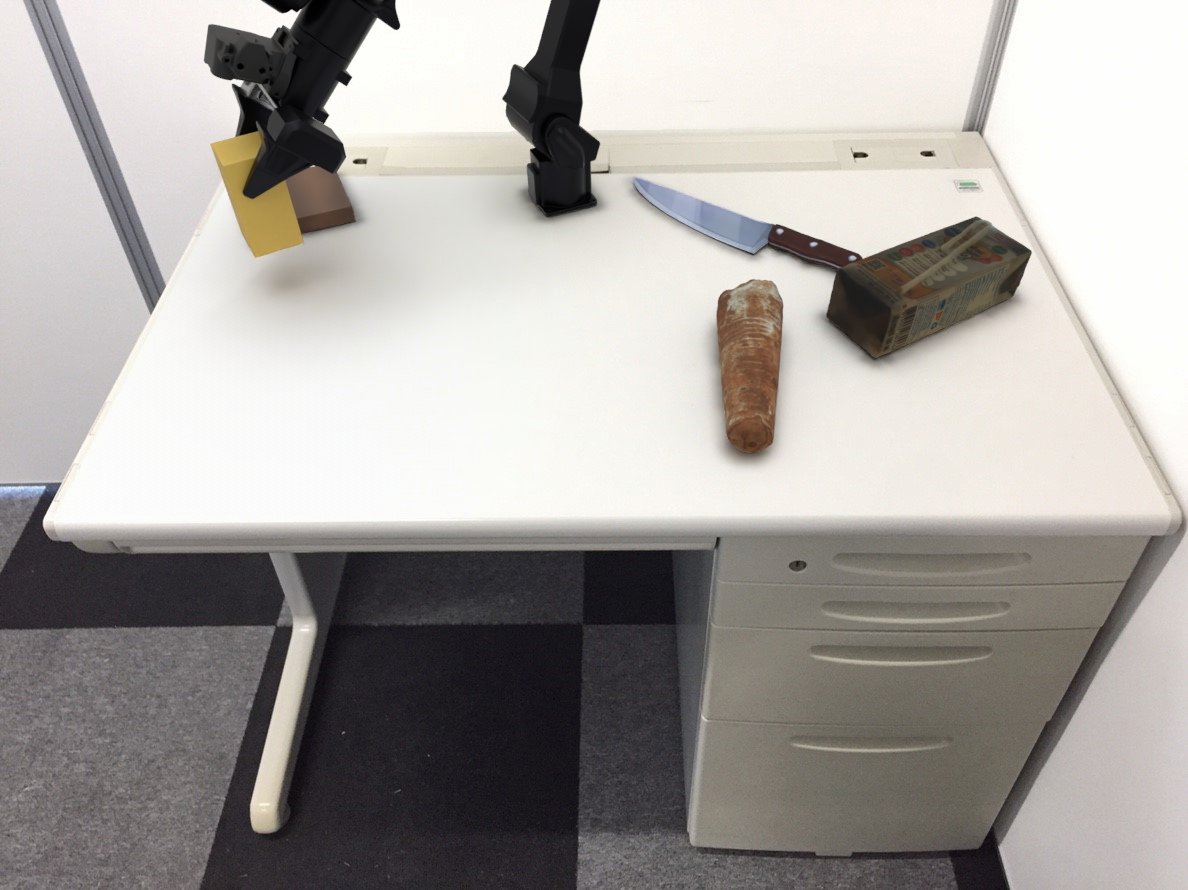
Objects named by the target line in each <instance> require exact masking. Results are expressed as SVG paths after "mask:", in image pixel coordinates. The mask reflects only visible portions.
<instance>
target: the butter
mask: <svg viewBox="0 0 1188 890" xmlns="http://www.w3.org/2000/svg"><path fill="white" fill-rule="evenodd" d="M209 144H210V147H211V150H212V153H213V156H214V159H215V161H216V164H217V167H218V170H219V173H220V176H221V179H222V182H223V184H224V187H225V190H226V193H227V196H228V199H229V202H230V204H231V207H232V210H233V213H234V215H235V218H236V221H237V224H238V227H239V230H240V233H241V236H242V237H243V239H244V241H245V243H246V244H247V246H248V248H249V250H250V252H251V253H252V256H253V257H254V259H256V258H261V257H263V256H267V255H270V254H274V253H276V252H279V251H283V250H287V249H289V248H293V247H296V246H299V245H303V244H304V243H305V242H304V238H303V235H302V234H301V231H300V228H299V225H298V221H297V218H296V215H295V211H294V208H293V204H292V201H291V198H290V194H289V191H288V188H287V184H286V181H283V182H281V183H279V184H278V185H276V186H274V187H273V188H271V189H269V190H268V191H266V192H264V193H263V194H261V195H259V196H258V197H256V198H254V199H250V198H248V197H246V196H244V195H243V193H242V191H243V188H244V186H245V183H246V180H247V177H248V175H249V173H250V170H251V168H252V165H253V163H254V161H255V158H256V156H257V153H258V151H259V148H260V146H261V138H260V135H259V131H257V132H253V133H249V134H245V135H241V136H238V137H235V136H234V137H230V138H227V139H226V138H225V139H221V140H218V141H215V142H211V143H209Z"/></svg>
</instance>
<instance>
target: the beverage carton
mask: <svg viewBox="0 0 1188 890" xmlns="http://www.w3.org/2000/svg"><path fill="white" fill-rule="evenodd" d="M1032 253H1033V251H1032V250H1031V249H1030V248H1028V247H1027V246H1026V245H1024V244H1023V243H1021V242H1019V241H1017V240H1016V239H1014V238H1012V237H1011V236H1010V235H1007V234H1006V233H1004V231H1002V230H1000V229H998V228H997V227H995V226H994V225H993V224H992V222H991V221H989V220H987V219H982V218H981V217H979V216H973V217H970V218H968V219H965V220H962V221H960V222H957V223H954V224H951V225H949V226H944V227H943V228H940V229H937V230H935V231H932V232H929V233H928V234H927V233H926V234H924V235H921V236H918V237H916V238H913V239H910V240H908V241H905V242H902V243H900V244H898V245H894V246H892V247H890V248H887V249H884V250H882V251H879V252H877V253H874V254H872V255H869V256H866V257H863V259H861V260H859V261H856V262H854V263H850V264H848V265H847V266H844V267H842V268H838V270H837V269H836V271H835V276H834V280H833V283H832V289H831V292H830V297H829V303H828V304H827V305H828V306H827V310H826V314H825V316H826V318H827V319H828V320H829V321H830V322H831V323H833V324H834V325H835V326H836V327H838V328H839V329H840V330H841V331H843V332H844V333H845V334H846V335H848V336H849V337H850V338H851V340H852V341H854V342H855V343H856V344H858V346H860V347H861V348H862V349H863V350H864V351H866V352H867V353H868V354H869V355H870V356H871V357H873V358H874V359H877V358H879V357H881V356H884V355H886V354H888V353H891V352H893V351H895V350H897V349H900V348H903V347H906V346H907V345H909V344H912V343H914V342H916V341H918V340H920V339H923V338H925V337H928V336H930V335H931V334H934V333H936V332H938V331H941V330H943V329H945V328H947V327H949V326H952V325H954V324H956V323H958V322H960V321H962V320H966V319H968V318H970V317H972V316H974V315H976V314H978V313H981V312H983V311H986V310H988V309H990V308H992V307H994V306H995V305H997V304H1000V303H1003V302H1005V301H1007V300H1009V299H1012V298H1013V297H1014V295H1015V293H1016V291H1017V290H1018V288H1019V287H1020V285H1021V282H1022V279H1023V277H1024V274H1025V271H1026V268H1027V266H1028V264H1029V261H1030V259H1031V256H1032Z"/></svg>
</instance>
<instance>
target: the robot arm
mask: <svg viewBox="0 0 1188 890" xmlns="http://www.w3.org/2000/svg"><path fill="white" fill-rule="evenodd" d="M260 1H261V2H262V3H264V4H266V5H267V6H269V7H270V8H272V9H273V10H275V11H276V12H278V13H280V14H287V13H289V12H290V11H293V12H295V13H298V15H297V16H296V18H295V20H294V22H293V23H292V25H291V27H290V28H289V27H287V26H286V25H284V24H282V25H281V27H280V26H278V27H277V28H276V29H275V30H274V32H273V35H272V36H271V37H268V36H264V35H260V34H258V33H254V32H251V31H246V30H241V29H238V28H234V27H233V28H232V27H228V26H223V25H220V24H213V23H210V24H208V25H207V30H206V31H207V32H206V40H205V48H204V56H203V62H204V63H205V64H206V65H208V67H209V71H210V73H211V75H212V76H214V77H216V78H218V79H220V80H221V79H222V80H224V81H225V80H226V81H229V82H230V81H231V82H232V81H233V80H236V81H242V83H241V85H240V86H239V85H238V84H236V83H231V89H232V91H233V93H234V96H235V99H236V102H237V104H238V107H239V117H238V122H237V127H236V132H235V135H234V137H238V136H241V135H245V134H249V133H253V132H257V131H259V135H260V138H261V146H260V148H259V151H258V153H257V156H256V158H255V161H254V163H253V165H252V168H251V170H250V173H249V175H248V177H247V180H246V183H245V186H244V188H243V191H242V193H243V195H244V196H246V197H248V198H250V199H254V198H256V197H258V196H259V195H261V194H263V193H264V192H266V191H268V190H269V189H271V188H273V187H274V186H276V185H278V184H279V183H281V182H283V181H285V180H286V179H288V178H290V177H292V176H294V175H295V174H297V173H299V172H301V171H303V170H305V169H307V168H309V167H314V166H316V167H318V166H319V167H321V168H322V169H324V170H326V171H328V172H330V173H332V174H336V173H337V174H338V171H339V169H340V168H341V166H342V165H343V163H344V162H345V160H346V158H347V154H346V149H345V146H344V142H342V140H341V139H340V138H339V136H338V135H337V134H336V132H335V131H334V130H333V129H332V128H331V127H330V126H327V124H326V122H327V121H328V119H329V117H330V113H328V111H327V110H326V109H325V106H326V105H327V103H328V102H329V100H330V98H331V96H332V95H333V93H334V91H335V90H336V88H337V86H338V85H339V83H340V84H341V85H343V86H345V87H348V86H349V84H350V83H351V80H352V78H353V76H352V75H351V74H350V72H348V68H349V67H350V65H351V63H352V61H353V59H354V58H355V56H356V55H357V53H358V52H359V50H360V48H361V46H362V45H363V43H364V41H365V40H366V38H367V36H368V34H369V33H370V32H371V30H372V28H373V26H374V24H375V23H376V21H377V20H380V21H381V22H383V23H384V24H385V25H387V26H388V27H389V28H391V29H393V30H394V31H398V30H400V28H401V21H400V19H399V16H398V12H397V8H396V7H397V5H396V2H397V0H260ZM601 1H602V0H550V3H549V6H548V9H547V14H546V16H545V17H546V18H545V21H544V24H543V27H542V32H541V36H540V40H539V43H538V47H537V50H536V52H535V54H534V55H533V56H532V58H531V59H530V60H529V61H528V63H526V65H525V66H524V67H523V66H522V65H519V64H517V63H514V64H513V65H511V69H510V74H509V83H508V86H507V88H506V91H505V93H504V95H503V96H502V97H501V100H502V101H503V102H504V103H506V104H505V117H506V118H507V121H508V122H509V124H510V126H511V127H512V128H513V129H514V130H515V131H516V132H517V133H519V134H520V136H522V137H523V138H524V139H525V141H527V142H528V143H530V145H532V146H533V147H532V148H529V155H530V156H529V157H530V158H529V159H530V162H528V163H527V164H526V175H527V176H526V177H527V187H528V188H527V192H528V196H529V198H530V199H531V200H532V201H533V203H534V204H535V205H536V206H537V207H538V208H539V209H540V211H541V212H542V213H543V215H544V216H545V217H553V216H558V215H561V214H566V213H570V212H574V211H577V210H582V209H586V208H591V207H594V206H597V205H598V199H597V198H596V197H595V195H594V194H593V193H592V162H594V161H596V160H597V157H598V153H599V150H600V146H601V141H600V140H599V139H598V138H596V137H595V136H593V135H592V134H591V133H590V132H589V131H587V130H586V129H585V128H584V127H582V125H581V118H582V110H583V104H584V99H583V89H582V88H583V87H582V79H581V68H582V65H583V62H584V58H585V54H586V52H587V48H588V44H589V41H590V37H591V35H592V31H593V27H594V25H595V21H596V19H597V15H598V10H599V9H600V8H599V7H600V5H601Z"/></svg>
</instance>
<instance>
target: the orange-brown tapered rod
mask: <svg viewBox="0 0 1188 890" xmlns="http://www.w3.org/2000/svg"><path fill="white" fill-rule="evenodd" d="M715 315H716V328H717V331H716V332H717V334H716V335H717V345H718V346H717V347H718V353H719V354H718V355H719V357H718V358H719V359H718V361H719V368H720V381H721V394H722V403H723V412H724V421H725V434H726V438H727V440H728V442H729V444H731V445H732V446H733V447H735V448H736V450H739V451H740V452H744V453H746V454H755V453H758V452H762V451H764V450H765V449H767V448H769V447H770V446H771V445H772V444H773V443H774V438H775V427H776V412H777V404H778V402H777V401H778V392H779V391H778V390H779V380H780V379H779V377H780V364H781V351H782V350H781V348H782V336H783V323H784V321H783V320H784V300H783V298H782V296H781V294H780V292H779V289H778V287H777V284H776V283H774V282H773V280H767V279H755V278H752V279H749V280H748V281H746V282H743V283H740V284H739V285H738V286H735V288H732V289H726V290H723V291H722V292H721V294H720V295H719V297H718V299H717V308H716V314H715Z"/></svg>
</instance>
